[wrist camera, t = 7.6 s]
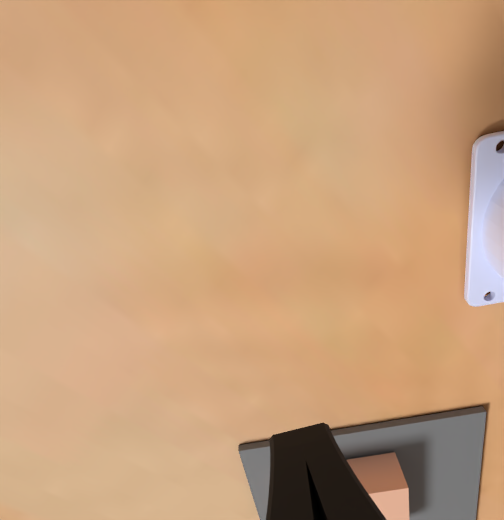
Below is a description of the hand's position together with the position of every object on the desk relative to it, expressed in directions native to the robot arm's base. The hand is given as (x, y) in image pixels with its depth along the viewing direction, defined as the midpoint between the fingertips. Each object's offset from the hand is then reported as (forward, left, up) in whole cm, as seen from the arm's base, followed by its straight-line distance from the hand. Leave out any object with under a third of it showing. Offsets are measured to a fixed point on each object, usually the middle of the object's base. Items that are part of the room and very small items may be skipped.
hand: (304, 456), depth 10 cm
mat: (-3, +18, -10) cm, 21 cm away
